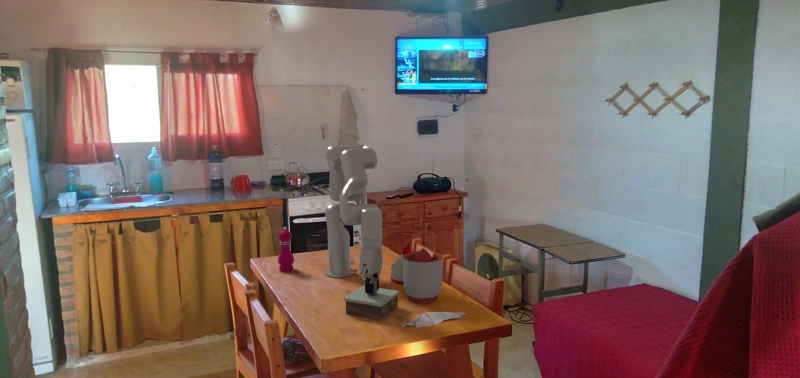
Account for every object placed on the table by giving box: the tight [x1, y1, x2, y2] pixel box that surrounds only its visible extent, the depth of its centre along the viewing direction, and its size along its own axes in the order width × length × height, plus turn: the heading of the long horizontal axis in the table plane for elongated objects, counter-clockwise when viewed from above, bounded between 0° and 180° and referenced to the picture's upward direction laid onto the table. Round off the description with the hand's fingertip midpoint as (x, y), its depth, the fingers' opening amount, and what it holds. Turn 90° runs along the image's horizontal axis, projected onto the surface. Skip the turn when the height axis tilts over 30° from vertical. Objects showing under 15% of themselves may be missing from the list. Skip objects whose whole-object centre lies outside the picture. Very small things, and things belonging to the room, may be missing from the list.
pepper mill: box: [277, 226, 295, 273], centre depth 252 cm, size 7×7×20 cm
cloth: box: [402, 311, 467, 328], centre depth 195 cm, size 26×14×2 cm, turn 107°
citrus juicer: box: [403, 247, 444, 304], centre depth 215 cm, size 16×17×20 cm
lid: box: [343, 276, 400, 307], centre depth 202 cm, size 15×15×7 cm
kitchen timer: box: [390, 245, 412, 286], centre depth 238 cm, size 14×14×15 cm
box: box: [345, 294, 399, 321], centre depth 203 cm, size 14×14×5 cm
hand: (372, 291), depth 202 cm, fingers closed on lid, 3 cm apart
